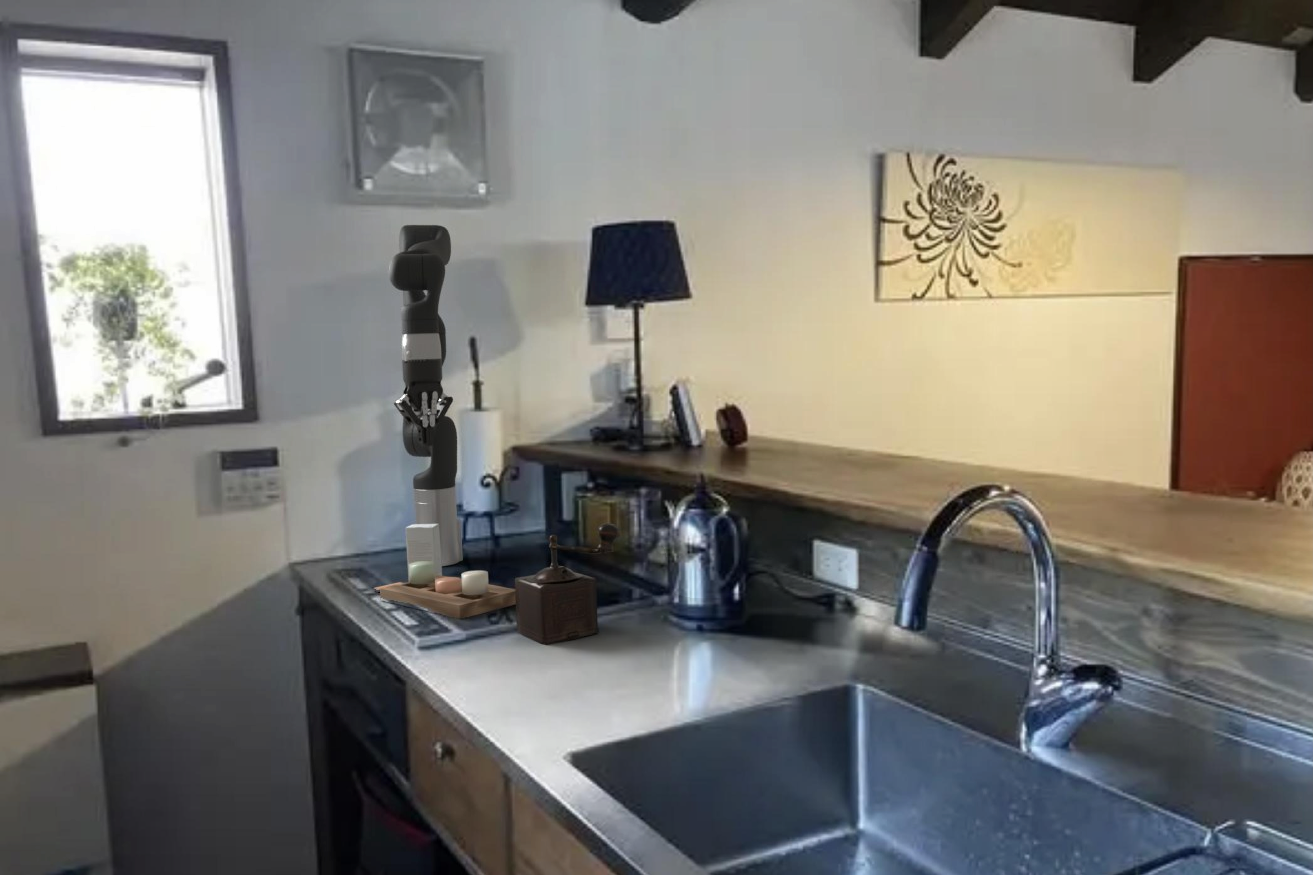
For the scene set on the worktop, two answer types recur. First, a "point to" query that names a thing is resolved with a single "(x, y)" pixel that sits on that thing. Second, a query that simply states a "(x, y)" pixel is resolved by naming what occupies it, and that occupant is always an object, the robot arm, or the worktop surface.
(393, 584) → the tile
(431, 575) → the button sage
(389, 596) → the button board
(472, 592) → the button cream
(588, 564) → the worktop surface
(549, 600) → the coffee grinder
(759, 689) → the worktop surface
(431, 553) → the skincare box
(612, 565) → the worktop surface
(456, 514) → the robot arm
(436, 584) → the peach rounded piece
